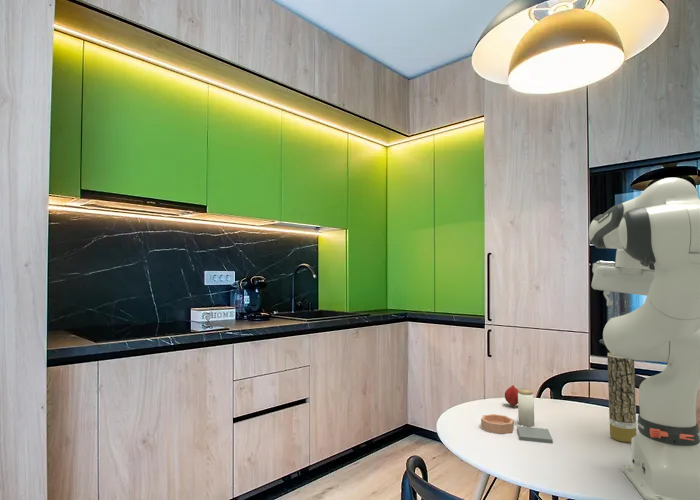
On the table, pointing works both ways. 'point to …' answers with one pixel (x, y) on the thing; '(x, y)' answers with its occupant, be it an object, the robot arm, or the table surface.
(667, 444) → the robot arm
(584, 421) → the table surface
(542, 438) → the slate coaster
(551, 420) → the table surface
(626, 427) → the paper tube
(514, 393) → the onion
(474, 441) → the table surface
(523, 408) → the spice jar
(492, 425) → the terracotta dish
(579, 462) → the table surface
